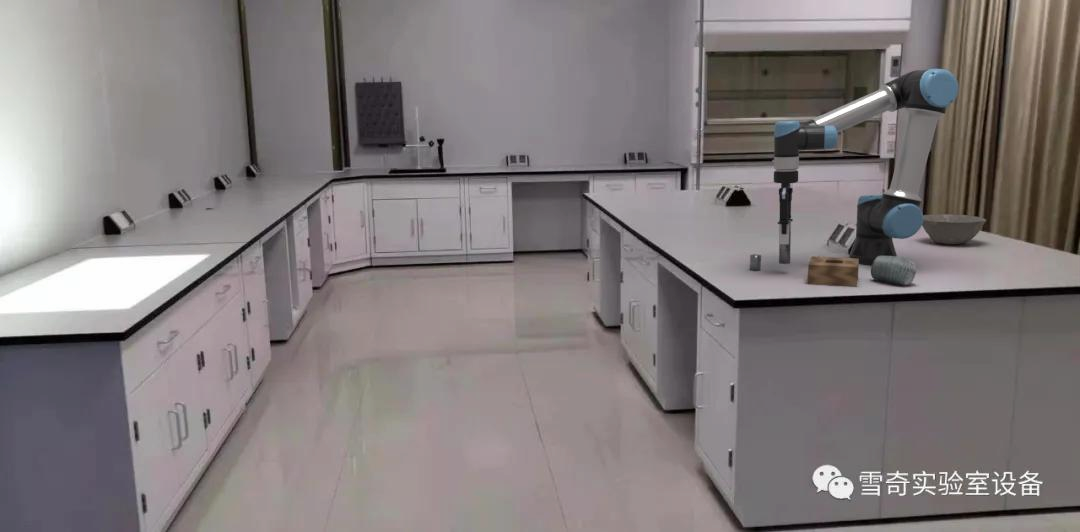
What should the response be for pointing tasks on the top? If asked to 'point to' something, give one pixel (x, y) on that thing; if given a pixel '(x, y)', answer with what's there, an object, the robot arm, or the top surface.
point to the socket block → (833, 271)
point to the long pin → (785, 248)
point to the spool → (893, 270)
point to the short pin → (755, 262)
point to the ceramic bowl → (952, 227)
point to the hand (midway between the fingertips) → (784, 242)
